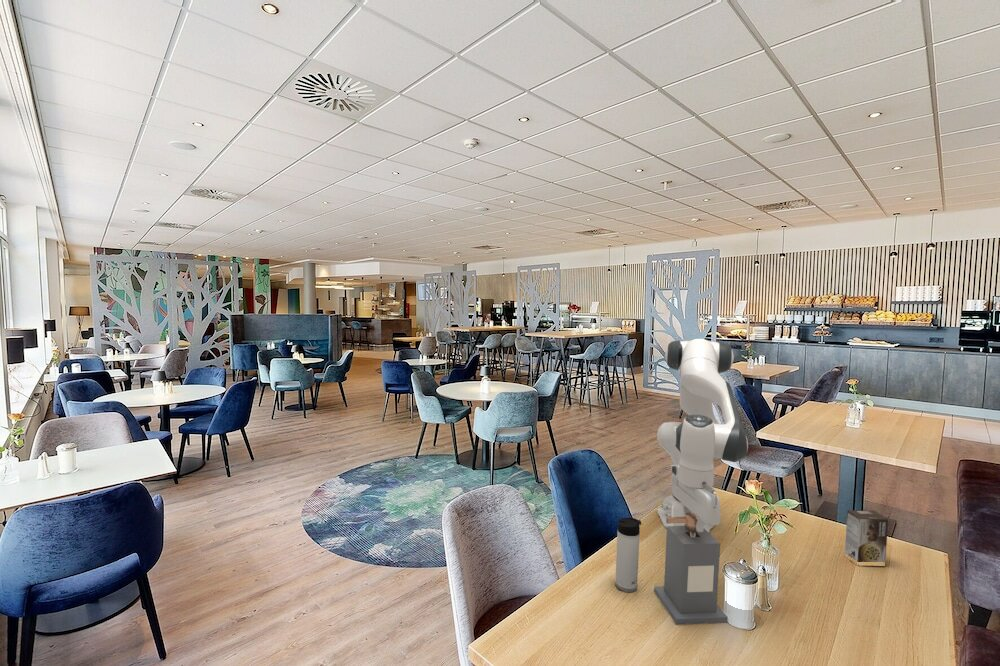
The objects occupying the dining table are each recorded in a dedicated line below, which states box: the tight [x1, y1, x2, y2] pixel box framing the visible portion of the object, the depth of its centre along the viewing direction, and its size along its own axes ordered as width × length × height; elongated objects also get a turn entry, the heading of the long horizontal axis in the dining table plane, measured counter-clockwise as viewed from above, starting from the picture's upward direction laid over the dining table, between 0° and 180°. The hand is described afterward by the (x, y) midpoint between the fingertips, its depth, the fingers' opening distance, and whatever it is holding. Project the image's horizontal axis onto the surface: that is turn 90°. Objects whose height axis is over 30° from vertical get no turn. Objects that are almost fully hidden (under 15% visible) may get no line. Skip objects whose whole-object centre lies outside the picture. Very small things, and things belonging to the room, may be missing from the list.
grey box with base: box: [653, 526, 729, 625], centre depth 129 cm, size 14×14×20 cm
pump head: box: [666, 513, 700, 537], centre depth 129 cm, size 4×10×20 cm, turn 95°
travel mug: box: [614, 517, 642, 593], centre depth 138 cm, size 6×7×20 cm
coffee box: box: [844, 509, 889, 563], centre depth 155 cm, size 9×6×16 cm
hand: (693, 525), depth 129 cm, fingers closed on pump head, 4 cm apart
